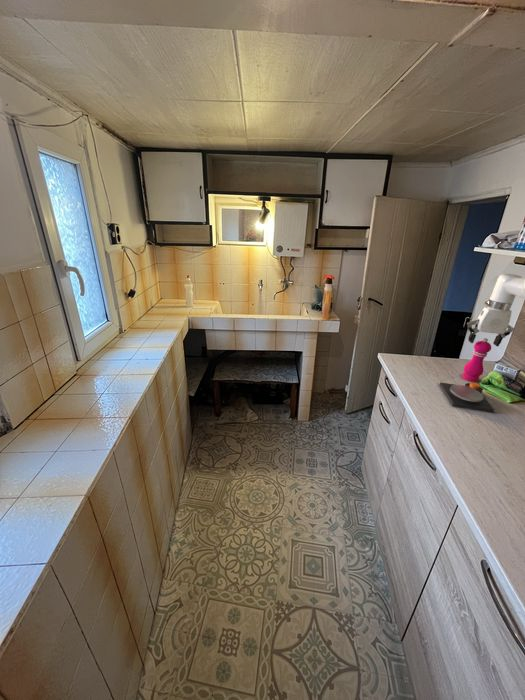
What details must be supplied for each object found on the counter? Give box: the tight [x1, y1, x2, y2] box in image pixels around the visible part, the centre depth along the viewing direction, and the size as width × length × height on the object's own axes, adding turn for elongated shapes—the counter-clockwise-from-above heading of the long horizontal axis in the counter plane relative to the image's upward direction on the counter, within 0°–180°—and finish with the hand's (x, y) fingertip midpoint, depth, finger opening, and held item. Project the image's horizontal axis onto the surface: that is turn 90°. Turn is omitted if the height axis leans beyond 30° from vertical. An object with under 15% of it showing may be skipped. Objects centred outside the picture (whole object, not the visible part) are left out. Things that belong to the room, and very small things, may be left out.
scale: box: [438, 382, 495, 414], centre depth 113 cm, size 15×16×3 cm
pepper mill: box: [461, 337, 492, 383], centre depth 125 cm, size 7×7×20 cm
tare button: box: [469, 381, 481, 390], centre depth 116 cm, size 3×3×2 cm
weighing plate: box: [450, 384, 485, 402], centre depth 111 cm, size 11×11×1 cm
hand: (482, 343), depth 122 cm, fingers open, 9 cm apart
